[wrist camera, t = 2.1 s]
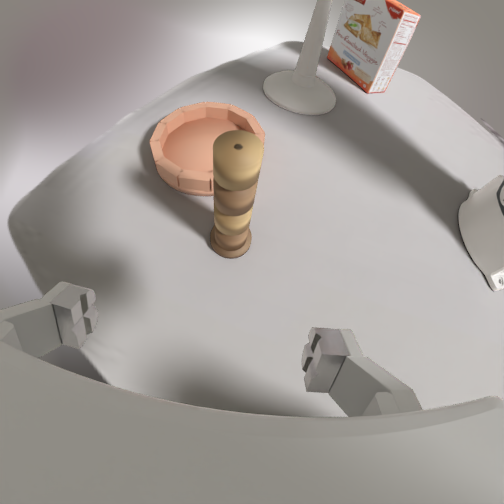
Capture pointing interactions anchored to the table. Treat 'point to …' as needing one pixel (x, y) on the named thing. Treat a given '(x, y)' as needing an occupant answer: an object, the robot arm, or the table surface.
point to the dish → (196, 143)
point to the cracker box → (372, 41)
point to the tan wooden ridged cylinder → (234, 190)
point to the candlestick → (305, 73)
